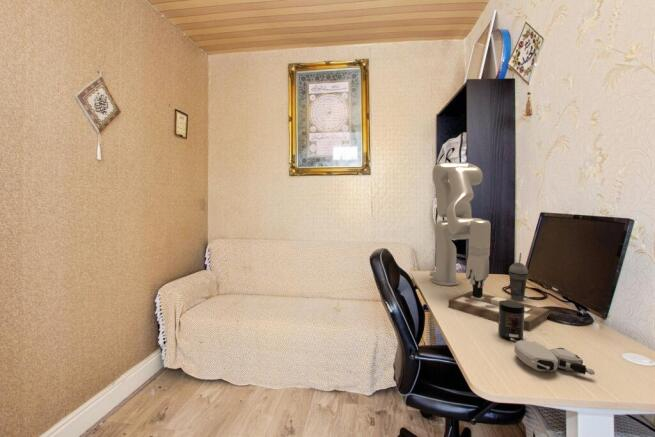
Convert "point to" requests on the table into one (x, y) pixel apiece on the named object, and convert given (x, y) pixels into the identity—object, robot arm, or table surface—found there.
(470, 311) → the button board
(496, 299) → the middle button
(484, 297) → the button
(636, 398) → the table surface
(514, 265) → the beverage cup
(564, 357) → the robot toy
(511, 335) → the supplement container
